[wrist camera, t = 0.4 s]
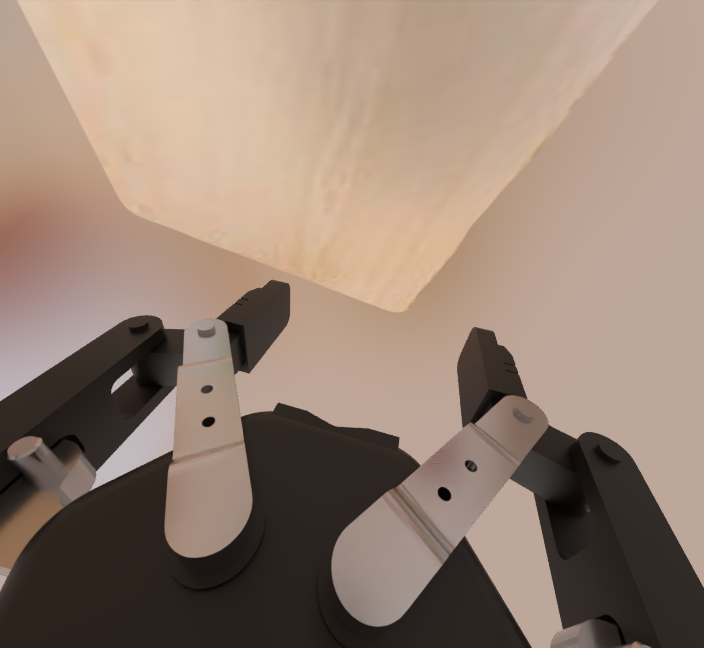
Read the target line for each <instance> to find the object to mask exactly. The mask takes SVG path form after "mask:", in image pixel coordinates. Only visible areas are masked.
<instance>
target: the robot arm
mask: <svg viewBox="0 0 704 648" xmlns="http://www.w3.org/2000/svg"><path fill="white" fill-rule="evenodd" d="M289 317H290V286H289V284H288V283H284V282H280V281H276V280H271V281H269V282H268V283H267V284H266V285H265V286H264V287H263V288H257V289H254V290H251V291H249V292H247V293H246V294H245V295H244V296H243V297H241V299H239V300H238V301H237V302H236V303H235V304H233V305H232V306H231V307H229V308H228V309H227V310H226V311H225V312H224V313H222V314H221V315H220V316H219V317H218V318H216V319H211V318H209V319H202V320H198V321H195V322H193V323H191V324H189V325H188V326H187V328H186V329H184V330H183V329H164V326H163V323H162V320H161V319H160V318H158V317H155V316H148V315H145V316H137V317H133V318H129V319H127V320H124V321H123V322H121V323H119V324H118V325H116V326H115V327H113V328H112V329H110V330H109V331H107V332H105V333H104V334H103V335H101V336H99V337H98V338H96V339H95V340H93V341H92V342H90V343H89V344H87V345H86V346H84V347H83V348H81V349H80V350H78V351H76V352H75V353H73V354H72V355H71V356H69V357H67V358H66V359H64V360H63V361H61V362H60V363H58V364H57V365H55V366H54V367H52V368H50V369H49V370H47V371H46V372H45V373H43V374H41V375H40V376H38V377H37V378H35V379H34V380H32V381H31V382H29V383H28V384H26V385H24V386H23V387H22V388H20V389H18V390H17V391H15V392H14V393H12V394H11V395H9V396H8V397H6V398H5V399H3V400H2V401H0V575H3V576H7V579H6V581H5V583H4V585H3V587H2V589H1V591H0V648H532V647H531V646H530V644H529V642H528V641H527V639H526V637H525V636H524V634H523V632H522V631H521V629H520V627H519V626H518V624H517V623H516V621H515V619H514V617H513V615H512V614H511V612H510V611H509V609H508V607H507V606H506V604H505V602H504V600H503V599H502V597H501V595H500V594H499V592H498V590H497V589H496V587H495V585H494V584H493V582H492V580H491V579H490V577H489V576H488V574H487V572H486V571H485V569H484V567H483V565H482V564H481V562H480V561H479V559H478V557H477V555H476V554H475V552H474V550H473V549H472V547H471V545H470V544H469V542H468V540H467V539H466V537H465V534H466V533H467V532H468V531H469V529H470V528H471V527H472V525H473V524H474V523H475V522H476V520H477V519H478V518H479V517H480V515H481V514H482V513H483V511H484V510H485V509H486V508H487V506H488V505H489V504H490V502H491V501H492V500H493V498H494V497H495V496H496V495H497V493H498V492H499V491H500V490H501V488H502V487H503V486H504V484H505V483H506V482H507V481H508V479H509V478H510V479H511V480H513V481H515V482H516V483H518V484H520V485H521V486H523V487H525V488H527V489H529V490H530V491H532V492H533V493H534V496H535V501H536V506H537V511H538V515H539V520H540V525H541V529H542V534H543V538H544V543H545V548H546V553H547V557H548V562H549V567H550V571H551V575H552V580H553V585H554V589H555V594H556V599H557V604H558V608H559V613H560V617H561V622H562V627H563V630H561V631H559V632H557V633H556V634H555V635H554V637H553V639H552V642H551V646H550V648H704V588H703V586H702V584H701V582H700V580H699V578H698V577H697V575H696V573H695V571H694V569H693V568H692V566H691V564H690V562H689V560H688V558H687V556H686V555H685V553H684V551H683V549H682V547H681V545H680V544H679V542H678V540H677V538H676V536H675V535H674V533H673V531H672V529H671V527H670V525H669V524H668V522H667V520H666V518H665V516H664V514H663V513H662V511H661V509H660V507H659V505H658V504H657V502H656V500H655V498H654V496H653V494H652V493H651V491H650V489H649V487H648V485H647V483H646V482H645V480H644V478H643V476H642V474H641V472H640V471H639V469H638V467H637V465H636V463H635V462H634V460H633V459H632V458H631V456H630V455H629V454H628V453H627V452H626V451H625V450H624V449H623V448H622V447H621V446H620V445H618V444H617V443H616V442H614V441H612V440H611V439H609V438H607V437H605V436H603V435H600V434H597V433H593V432H586V433H583V434H581V435H580V436H579V438H578V439H575V438H573V437H571V436H569V435H567V434H565V433H563V432H561V431H559V430H557V429H555V428H553V427H551V426H550V425H549V424H548V419H547V417H546V415H545V414H544V412H543V411H542V410H541V409H540V408H539V407H538V406H537V405H535V404H534V403H532V402H531V401H529V400H528V399H527V397H526V394H525V391H524V388H523V385H522V382H521V379H520V377H519V375H518V371H517V368H516V367H515V362H514V359H513V356H512V355H511V354H510V353H509V351H508V350H507V349H506V348H505V347H504V346H501V345H498V344H497V340H496V337H495V334H494V332H493V331H490V330H485V329H481V328H477V327H474V328H473V329H472V330H471V332H470V334H469V337H468V339H467V341H466V343H465V345H464V348H463V350H462V352H461V354H460V357H459V360H458V366H457V372H458V382H459V394H460V405H461V415H462V426H463V429H462V430H461V431H460V432H458V433H457V434H456V435H455V436H454V437H453V438H452V439H451V440H449V442H447V443H446V444H445V445H444V446H443V447H442V448H440V449H439V450H438V451H437V452H436V453H435V454H434V455H433V456H431V457H430V458H429V459H428V460H427V461H426V462H425V463H424V464H422V466H421V465H420V464H419V463H418V462H417V461H416V460H415V459H414V458H412V457H411V456H410V455H409V454H407V453H406V452H405V451H403V450H401V449H400V448H398V446H399V437H396V436H393V435H389V434H386V433H382V432H378V431H375V430H372V429H367V428H350V427H336V426H333V425H331V424H329V423H327V422H326V421H324V420H322V419H320V418H319V417H317V416H315V415H313V414H311V413H310V412H308V411H305V410H302V409H299V408H295V407H292V406H288V405H285V404H281V403H278V404H277V406H276V407H275V409H274V411H273V412H272V411H268V412H258V413H253V414H249V415H245V416H243V417H241V416H240V408H239V402H238V395H237V389H236V382H235V374H236V373H237V372H238V371H242V372H246V373H250V372H251V371H252V369H253V368H254V367H255V365H256V364H257V363H258V362H259V360H260V359H261V358H262V356H263V355H264V354H265V353H266V351H267V350H268V349H269V347H270V346H271V345H272V343H273V342H274V341H275V340H276V338H277V337H278V336H279V334H280V333H281V332H282V331H283V329H284V328H285V327H286V325H287V323H288V321H289ZM130 368H131V370H132V372H133V374H134V375H133V376H132V377H130V378H129V379H128V380H127V381H126V382H125V383H124V384H122V385H121V386H120V387H119V388H118V389H117V390H116V391H114V392H113V393H112V394H111V389H112V386H113V384H114V383H115V381H116V380H117V379H118V378H120V377H121V376H122V375H123V374H124V373H126V372H127V371H128V370H129V369H130ZM175 386H177V393H176V410H175V428H174V446H173V451H170V452H168V453H166V454H164V455H162V456H160V457H158V458H156V459H154V460H152V461H150V462H148V463H146V464H144V465H142V466H140V467H138V468H136V469H134V470H132V471H130V472H128V473H126V474H124V475H122V476H120V477H118V478H116V479H114V480H111V481H109V482H107V483H105V484H103V485H101V486H99V487H97V488H95V489H93V490H91V491H89V490H90V489H91V488H92V486H93V484H94V482H95V478H96V471H97V470H98V469H99V468H100V467H101V466H102V465H103V464H104V463H105V461H106V460H107V459H108V458H109V457H110V456H111V455H112V454H113V453H114V452H115V451H116V450H117V448H119V446H120V445H121V444H122V443H123V442H124V441H125V440H126V439H127V438H128V437H129V436H130V435H131V434H132V433H133V431H134V430H135V429H136V428H137V427H138V426H139V425H140V424H141V423H142V422H143V421H144V420H145V419H146V418H147V416H148V415H149V414H150V413H151V412H152V411H153V410H154V409H155V408H156V407H157V406H158V405H159V404H160V402H161V401H162V400H163V399H164V398H165V397H166V396H167V395H168V394H169V393H170V392H171V391H172V390H173V388H174V387H175Z"/></svg>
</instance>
